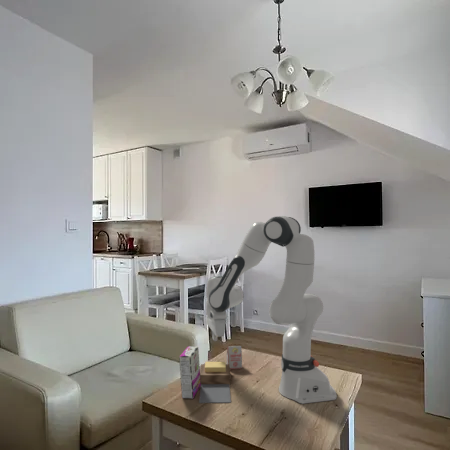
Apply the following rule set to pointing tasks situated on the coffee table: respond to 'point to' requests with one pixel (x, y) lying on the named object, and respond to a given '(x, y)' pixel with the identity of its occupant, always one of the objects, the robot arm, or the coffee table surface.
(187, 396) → the candy bar box
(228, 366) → the deck
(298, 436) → the coffee table surface
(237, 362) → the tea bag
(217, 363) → the pale yellow rectangular block
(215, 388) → the mat
